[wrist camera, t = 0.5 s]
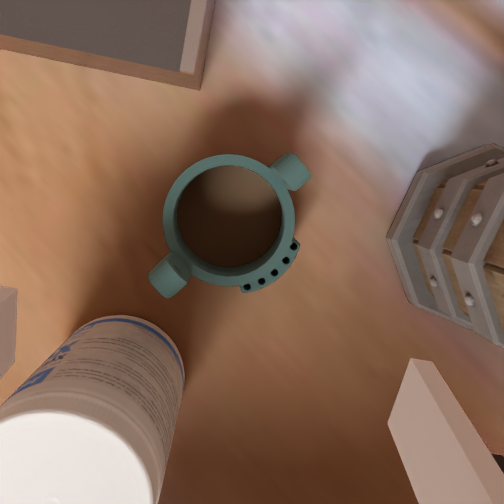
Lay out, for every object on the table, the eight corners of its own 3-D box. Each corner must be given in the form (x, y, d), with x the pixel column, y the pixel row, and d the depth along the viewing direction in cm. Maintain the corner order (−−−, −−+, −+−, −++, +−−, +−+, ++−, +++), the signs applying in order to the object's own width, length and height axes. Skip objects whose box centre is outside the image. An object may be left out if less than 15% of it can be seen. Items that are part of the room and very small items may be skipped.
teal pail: (163, 267, 36) (142, 297, 27) (182, 141, 34) (166, 129, 25) (283, 286, 36) (300, 321, 27) (305, 163, 35) (332, 159, 26)
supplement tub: (75, 297, 36) (-33, 378, 21) (200, 329, 36) (179, 428, 22) (48, 417, 37) (-72, 571, 22) (169, 445, 38) (129, 612, 23)
